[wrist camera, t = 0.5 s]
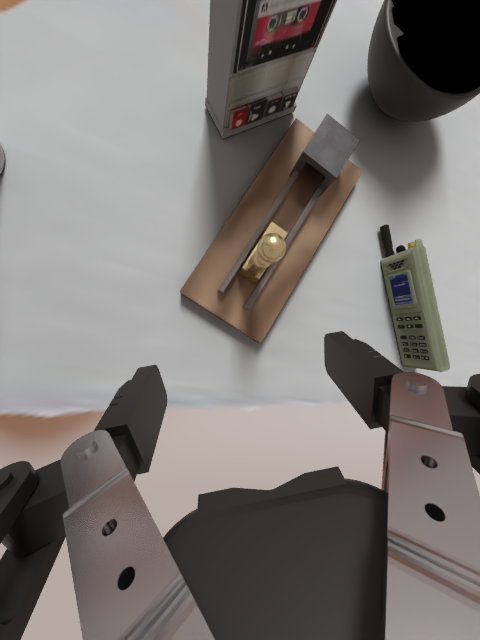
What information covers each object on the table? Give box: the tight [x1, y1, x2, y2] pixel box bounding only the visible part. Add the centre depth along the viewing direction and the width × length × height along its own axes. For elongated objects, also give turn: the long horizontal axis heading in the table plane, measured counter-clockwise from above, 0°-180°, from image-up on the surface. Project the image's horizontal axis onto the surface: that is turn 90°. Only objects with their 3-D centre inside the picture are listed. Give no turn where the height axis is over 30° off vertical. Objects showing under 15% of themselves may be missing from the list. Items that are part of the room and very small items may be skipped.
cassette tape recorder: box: [205, 0, 337, 139], centre depth 26 cm, size 14×6×25 cm, turn 119°
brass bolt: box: [239, 222, 288, 283], centre depth 29 cm, size 3×8×12 cm, turn 148°
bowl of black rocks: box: [367, 0, 480, 122], centre depth 35 cm, size 20×20×19 cm
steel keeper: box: [289, 114, 360, 198], centre depth 35 cm, size 6×7×5 cm
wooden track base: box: [180, 119, 363, 343], centre depth 37 cm, size 14×34×4 cm, turn 148°
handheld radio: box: [380, 225, 450, 372], centre depth 39 cm, size 7×3×25 cm
